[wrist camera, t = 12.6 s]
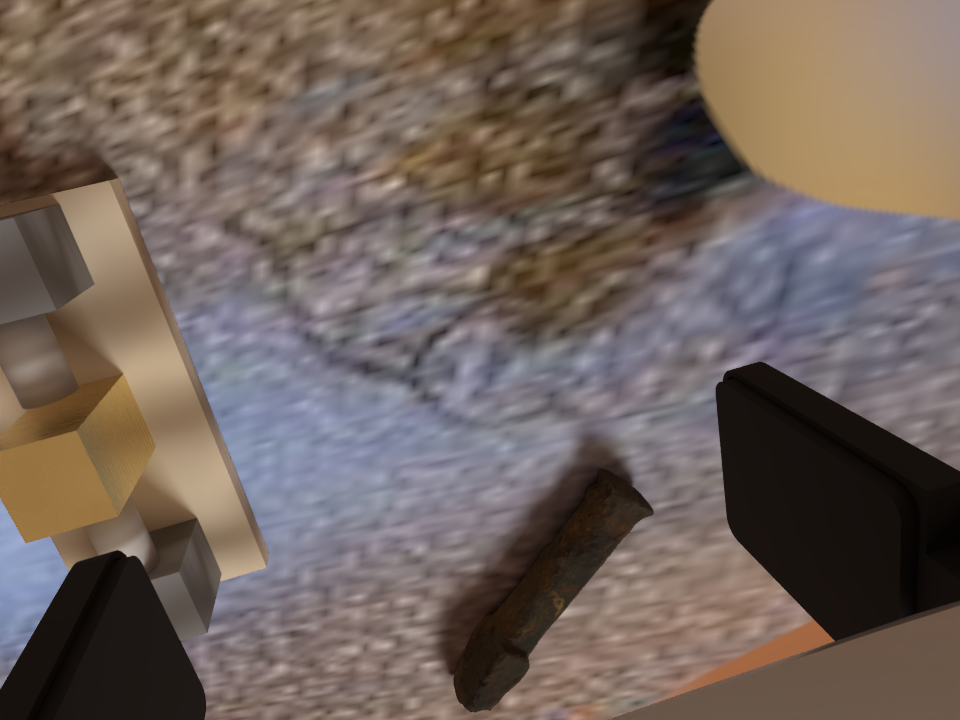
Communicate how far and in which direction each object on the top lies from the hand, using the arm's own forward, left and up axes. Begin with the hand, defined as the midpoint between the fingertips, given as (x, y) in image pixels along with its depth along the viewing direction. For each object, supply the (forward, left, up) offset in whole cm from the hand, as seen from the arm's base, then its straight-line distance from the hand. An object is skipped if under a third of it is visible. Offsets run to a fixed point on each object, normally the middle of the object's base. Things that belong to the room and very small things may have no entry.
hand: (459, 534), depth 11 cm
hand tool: (+26, +5, -29) cm, 39 cm away
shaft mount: (+6, -16, -28) cm, 33 cm away
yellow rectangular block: (+5, -16, -27) cm, 32 cm away
